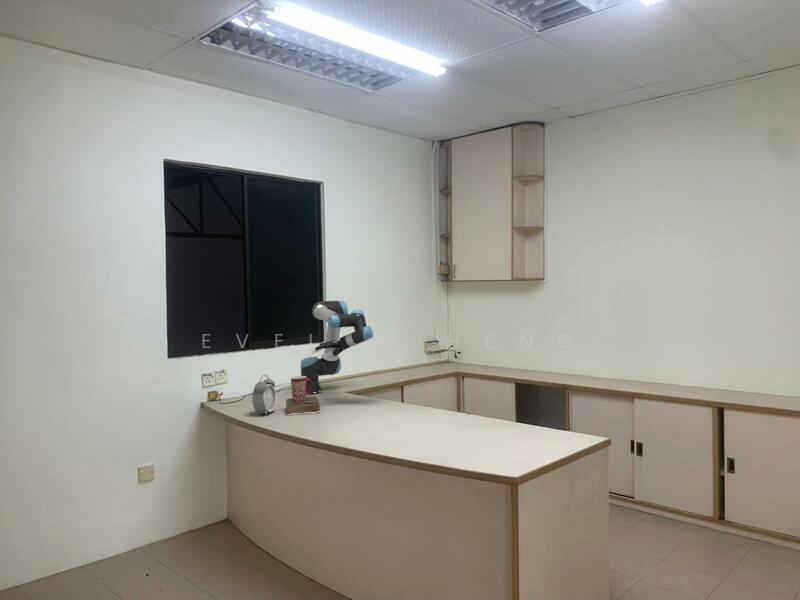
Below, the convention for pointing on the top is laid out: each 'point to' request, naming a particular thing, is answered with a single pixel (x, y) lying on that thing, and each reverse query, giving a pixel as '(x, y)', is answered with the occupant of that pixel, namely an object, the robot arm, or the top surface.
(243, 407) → the top surface
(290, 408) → the walnut stand
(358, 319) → the robot arm
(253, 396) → the alarm clock
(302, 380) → the mug
